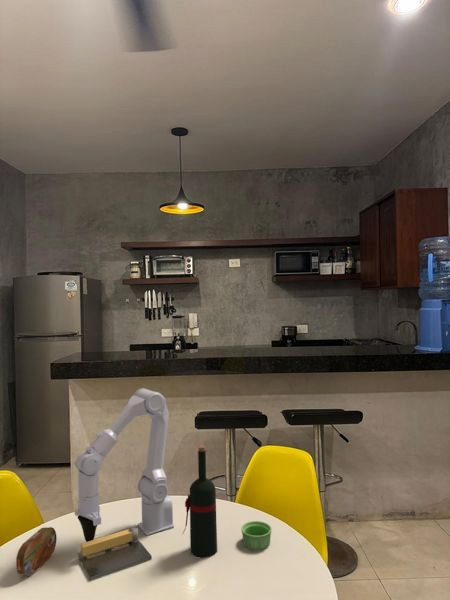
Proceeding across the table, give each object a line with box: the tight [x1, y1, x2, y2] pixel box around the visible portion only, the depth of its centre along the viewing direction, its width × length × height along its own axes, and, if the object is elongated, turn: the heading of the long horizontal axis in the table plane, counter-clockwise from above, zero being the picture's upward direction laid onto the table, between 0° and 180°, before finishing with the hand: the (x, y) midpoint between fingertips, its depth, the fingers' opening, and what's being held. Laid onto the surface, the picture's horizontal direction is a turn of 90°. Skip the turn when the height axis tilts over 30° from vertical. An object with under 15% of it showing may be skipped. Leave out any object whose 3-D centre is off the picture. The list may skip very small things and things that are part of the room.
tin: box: [15, 526, 58, 577], centre depth 122 cm, size 15×3×8 cm, turn 168°
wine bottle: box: [181, 445, 218, 559], centre depth 127 cm, size 8×10×30 cm
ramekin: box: [241, 520, 273, 551], centre depth 131 cm, size 9×9×4 cm
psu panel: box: [77, 538, 153, 582], centre depth 124 cm, size 17×13×2 cm
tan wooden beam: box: [80, 527, 139, 556], centre depth 128 cm, size 16×3×2 cm, turn 122°
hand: (89, 540), depth 128 cm, fingers closed
